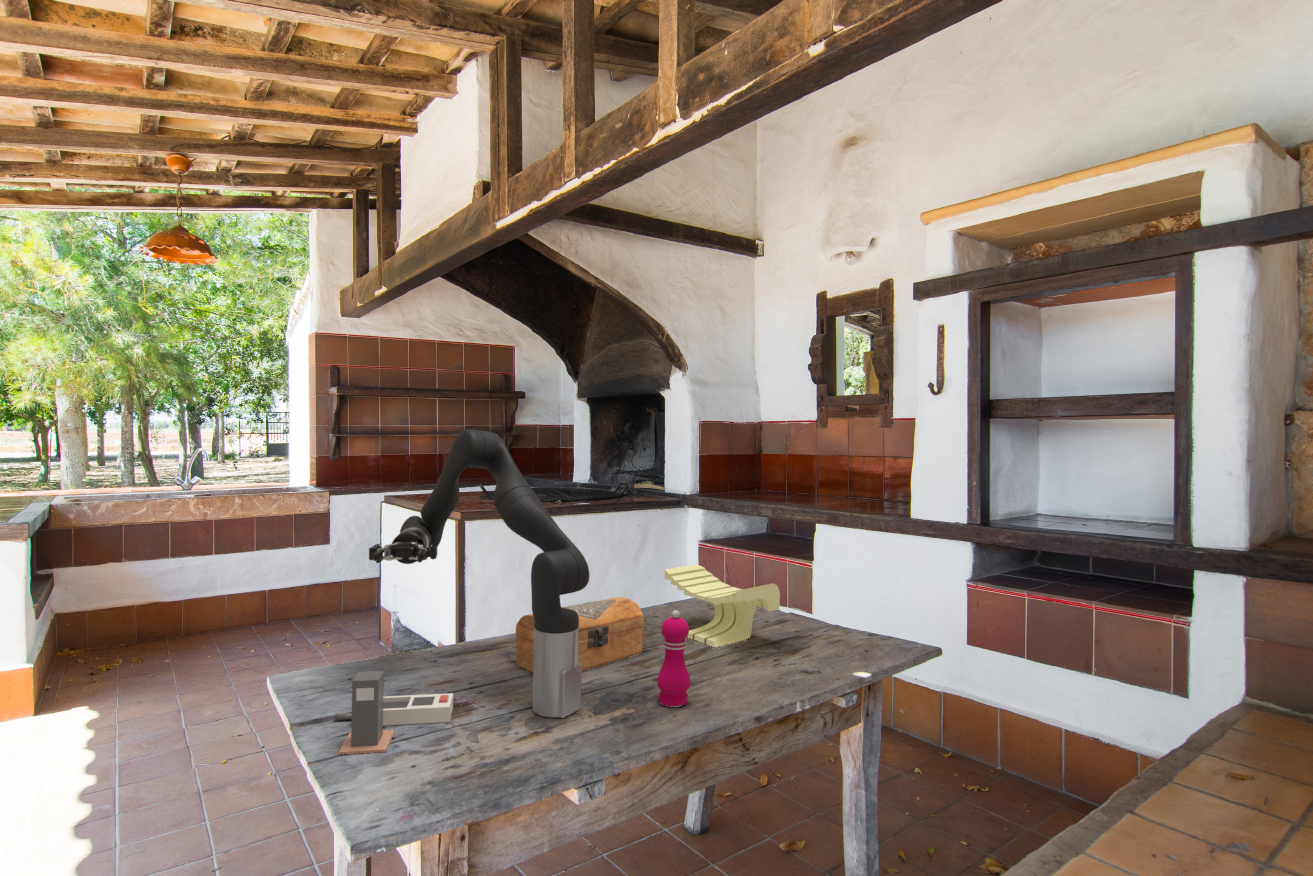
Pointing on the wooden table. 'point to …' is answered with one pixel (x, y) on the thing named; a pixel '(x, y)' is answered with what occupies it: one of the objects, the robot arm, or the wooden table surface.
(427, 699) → the power strip
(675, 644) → the pepper mill
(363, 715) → the block
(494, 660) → the wooden table surface
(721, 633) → the slatted curved stool
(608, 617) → the wooden box
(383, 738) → the tile coaster
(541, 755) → the wooden table surface
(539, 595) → the robot arm
